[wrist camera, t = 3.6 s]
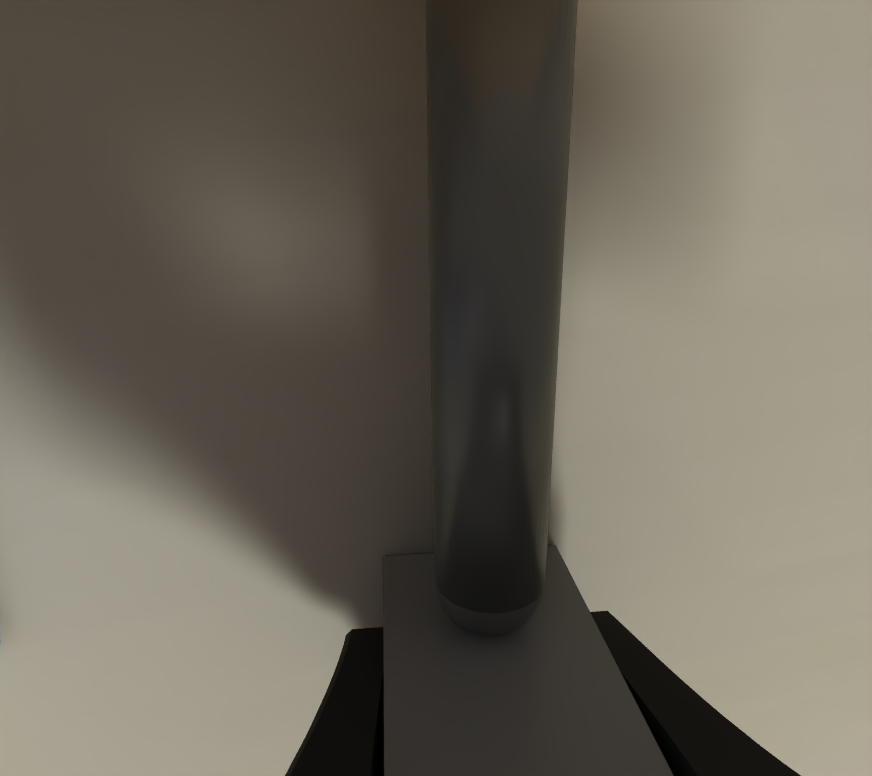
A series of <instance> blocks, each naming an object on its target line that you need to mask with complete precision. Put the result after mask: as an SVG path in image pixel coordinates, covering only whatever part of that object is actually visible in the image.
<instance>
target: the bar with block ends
mask: <svg viewBox="0 0 872 776" xmlns="http://www.w3.org/2000/svg"><path fill="white" fill-rule="evenodd" d="M577 2H578V0H426V62H427V131H428V200H429V270H430V339H431V408H432V478H433V547H434V553H424V554H408V555H392V556H383V638H384V776H673V774H672V772H671V770H670V768H669V766H668V764H667V762H666V760H665V758H664V756H663V754H662V752H661V750H660V748H659V746H658V744H657V742H656V740H655V738H654V736H653V734H652V733H651V731H650V729H649V727H648V725H647V723H646V721H645V719H644V717H643V715H642V713H641V711H640V709H639V707H638V705H637V703H636V701H635V699H634V697H633V695H632V693H631V691H630V690H629V688H628V686H627V684H626V682H625V680H624V678H623V676H622V674H621V672H620V670H619V668H618V666H617V664H616V662H615V660H614V658H613V656H612V654H611V652H610V650H609V648H608V647H607V645H606V643H605V641H604V639H603V637H602V635H601V633H600V631H599V629H598V627H597V625H596V623H595V621H594V619H593V617H592V615H591V613H590V611H589V609H588V607H587V605H586V603H585V602H584V600H583V598H582V596H581V594H580V592H579V590H578V588H577V586H576V584H575V582H574V580H573V578H572V576H571V574H570V572H569V570H568V568H567V566H566V564H565V562H564V560H563V559H562V557H561V555H560V553H559V551H558V549H557V547H556V545H552V546H547V538H548V520H549V502H550V484H551V467H552V449H553V431H554V413H555V395H556V377H557V359H558V341H559V324H560V306H561V288H562V270H563V252H564V234H565V216H566V198H567V181H568V163H569V145H570V127H571V109H572V91H573V73H574V55H575V37H576V20H577Z"/></svg>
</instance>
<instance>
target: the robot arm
mask: <svg viewBox="0 0 872 776" xmlns="http://www.w3.org/2000/svg"><path fill="white" fill-rule="evenodd" d="M590 613H591V615H592V617H593V619H594V621H595V623H596V625H597V627H598V629H599V631H600V633H601V635H602V637H603V639H604V641H605V643H606V645H607V647H608V648H609V650H610V652H611V654H612V656H613V658H614V660H615V662H616V664H617V666H618V668H619V670H620V672H621V674H622V676H623V678H624V680H625V682H626V684H627V686H628V688H629V690H630V691H631V693H632V695H633V697H634V699H635V701H636V703H637V705H638V707H639V709H640V711H641V713H642V715H643V717H644V719H645V721H646V723H647V725H648V727H649V729H650V731H651V733H652V734H653V736H654V738H655V740H656V742H657V744H658V746H659V748H660V750H661V752H662V754H663V756H664V758H665V760H666V762H667V764H668V766H669V768H670V770H671V772H672V774H673V776H801V775H799V774H798V773H796V772H795V771H794V770H792V769H791V768H789V767H788V766H787V765H785V764H784V763H782V762H781V761H780V760H778V759H777V758H776V757H774V756H773V755H772V754H770V753H769V752H768V751H766V750H765V749H764V748H763V747H761V746H760V745H759V744H757V743H756V742H755V741H754V740H752V739H751V738H750V737H749V736H747V735H746V734H745V733H744V732H743V731H741V730H740V729H739V728H738V727H736V726H735V725H734V724H733V723H731V722H730V721H729V720H728V719H726V718H725V717H724V716H723V715H721V714H720V713H719V712H718V711H717V710H716V709H714V708H713V707H712V706H711V705H710V704H708V703H707V702H706V701H705V700H704V699H703V698H701V697H700V696H699V695H698V694H697V693H696V692H695V691H694V690H692V689H691V688H690V687H689V686H688V685H687V684H686V683H685V682H683V681H682V680H681V679H680V678H679V677H678V676H677V675H676V674H674V673H673V672H672V671H671V670H670V669H669V668H668V667H667V666H666V665H665V664H664V663H662V662H661V661H660V660H659V659H658V658H657V657H656V656H655V655H654V654H653V653H652V652H651V651H650V650H649V649H647V648H646V647H645V646H644V645H643V644H642V643H641V642H640V641H639V640H638V639H637V638H636V637H635V636H634V635H633V634H632V633H631V632H630V631H628V630H627V629H626V628H625V627H624V626H623V625H622V624H621V623H620V622H619V621H618V620H617V619H616V618H615V617H614V616H613V615H611V614H610V613H609V612H608V611H599V612H590ZM0 644H1V636H0ZM285 776H384V638H383V627H378V628H365V629H352V630H351V631H350V632H349V633H348V634H347V635H346V637H345V641H344V645H343V649H342V652H341V655H340V658H339V661H338V664H337V666H336V669H335V672H334V674H333V677H332V679H331V682H330V684H329V687H328V689H327V692H326V694H325V696H324V698H323V700H322V703H321V705H320V707H319V709H318V711H317V714H316V716H315V718H314V720H313V722H312V725H311V727H310V729H309V731H308V733H307V735H306V737H305V739H304V741H303V743H302V745H301V747H300V748H299V750H298V752H297V754H296V756H295V758H294V760H293V762H292V764H291V765H290V767H289V769H288V771H287V773H286V775H285Z"/></svg>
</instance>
